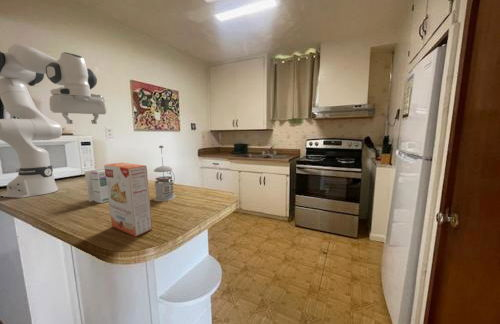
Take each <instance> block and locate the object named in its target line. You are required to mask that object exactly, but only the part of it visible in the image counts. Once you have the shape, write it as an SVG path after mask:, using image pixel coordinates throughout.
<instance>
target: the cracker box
mask: <svg viewBox="0 0 500 324" xmlns="http://www.w3.org/2000/svg"><path fill="white" fill-rule="evenodd" d="M104 168H105V175H106V183H107V191H108V199H109V201H108V206H109V213H110V221H111V222H110V223H111V227H113V228H115V229H117V230H120V231H121V232H124V233H126V234H128V235H131V236H133V237H135V238H136V237H138V236H140V235H143V234H145V233H147V232H150V231H151V230H153V221H152V212H151V211H152V210H151V201H150V191H149V189H150V188H149V180H148V169H147V165H143V164H135V163H129V162H128V163H127V162H117V163H116V162H115V163H108V164H104Z"/></svg>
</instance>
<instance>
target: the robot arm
mask: <svg viewBox="0 0 500 324" xmlns="http://www.w3.org/2000/svg"><path fill="white" fill-rule="evenodd" d="M45 75H46V77H47V79H48V80H49V81H50V82H51V83H53V84H55V85H58V86H62V87H57V88H52V89H50V94H51V96H50V97H49V110H50V111H51V113H55V114H56V113H57V114H59V113H60V114H62V117H63V118H64V119H65V120H66V124H68V125H72V124H74V123H73V120H72V119H70V118H69V117H68V116H69V114H81V115H82V114H85V115H86V114H87V115H92V116H93V118H92V119H91V124H92V125H97V122H98V121H97V120H98V119H99V115H106V114H107V108H106V104H105V98H104V96H102V95H101V94H94V93H91V90H92V89H94V88H95V87H96V85H97V83H98V79H97V76H96V75H95V73H94V71H93V70H92V69H90V68H88V67H87V63H86V60H85V58H84V57H82V56H81V55H79V54H76V53H75V54H74V53H70V52H61V53H60V56H59V59H57V58H55V57H53V56H51V55H48V54H47V53H44V52H42V51H41V50H39V49H37V48H35V47H32V46H29V45H26V44H21V43H19V44H18V43H16V44H12V45H10V46H9V47H8V50H7V52H1V51H0V77H1V78H0V100H1V102H2V105H3V107H4V109H5V111H6V112H7V113H8V114H9V115H11V116H12V117H14V118H12V117H11V118H10V117H9V118H0V140H1V141H3V142H5V143H6V144H8V145H9V146H11V147H12V148H13V149H14V151H15V153H16V155H17V157H18V158H17V159H18V161H19V165H20V168H19V169H17V170H15V171H16V173H18V174H17V176H16V177H15V178H14V179H11V181H10V182H8V183H7V185H6V192H4V193H2V194H0V197H1V196H3V197H4V198H18V199H22V198H28V197H35V196H41V195H47V194H51V193H55V192H57V191H59V187H58V185H57V184H56V180H55V177H54V174H53V166H52V165H51V160H50V159H51V158H50V153H49V151H47V150H46V149H45V148H42V147H39V146H36V145H35V144H34V143H33V141H50V140H56V139H59V138H61V137H62V134H63V127H62V125H61V124H60V123H59V121H56V120H53V119H51V118H49V117H48V116H46V115H45V114H43V113H42V112H41V111H40V110H39V109H38V108H37V106H36V104H35V102H34V101H33V100H34V99H33V98H32V96H31V94H30V92H29V90H28V86H30V87H34V86H36V85H38V84H39V83H41V82H42V81H43V80H44V79H45Z"/></svg>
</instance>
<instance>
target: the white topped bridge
mask: <svg viewBox="0 0 500 324" xmlns="http://www.w3.org/2000/svg"><path fill="white" fill-rule="evenodd" d="M102 169H105V167H104V168H98V169H91V170H84V177H85V186H86V194H87V201H88V202H92V201H95V198H94V191H93V184H92V177H91V171H95V170H102Z"/></svg>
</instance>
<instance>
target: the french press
mask: <svg viewBox="0 0 500 324" xmlns="http://www.w3.org/2000/svg"><path fill="white" fill-rule="evenodd" d="M158 148H159V149H160V151H161V153H163V148H164V145H159V146H158ZM161 161H162V162H161V164H162V166H158V167H156V168H155V169H154V170H153V172H154V173H162V175H163V176H159V177H156V178H155V181H154V186H155V187H154V189H155V197H154V198H155V199H153V200H154V201H156V202H167V200H168V201H171V199H172V200H174V199H175V197H176V198H177V196H176V195H175V194H174V184H175V179H176V178H175V176H173V175H175V174H174V172H173V168H172V167H170V166H167V165H164V160H163V158H161ZM165 172H166V173H167V174H168V175H170V176H165V174H164V173H165ZM172 174H173V175H172ZM172 176H173V177H172ZM173 198H174V199H173Z"/></svg>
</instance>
